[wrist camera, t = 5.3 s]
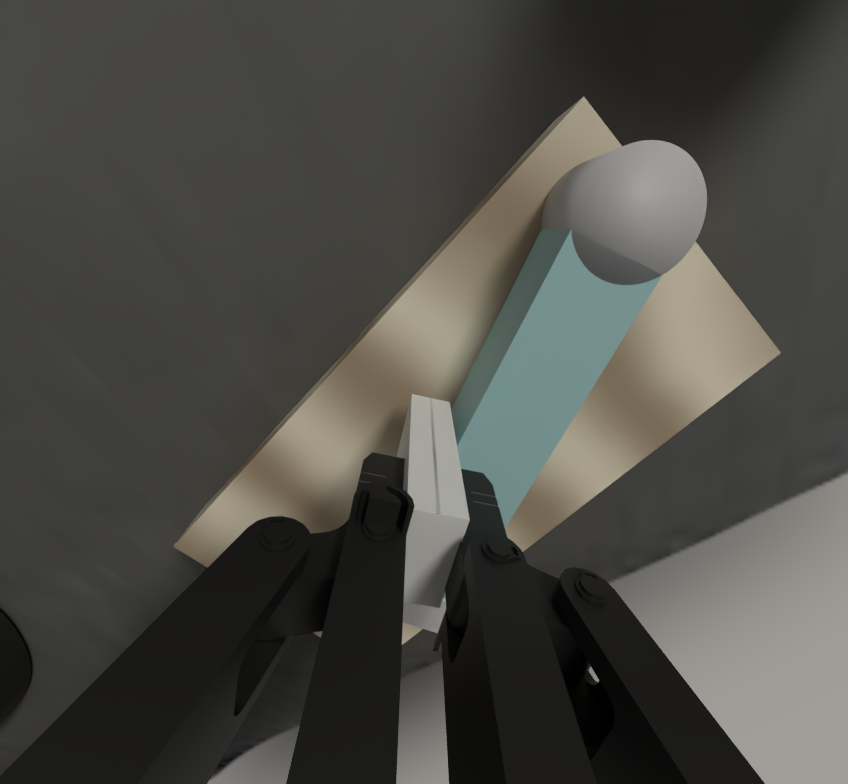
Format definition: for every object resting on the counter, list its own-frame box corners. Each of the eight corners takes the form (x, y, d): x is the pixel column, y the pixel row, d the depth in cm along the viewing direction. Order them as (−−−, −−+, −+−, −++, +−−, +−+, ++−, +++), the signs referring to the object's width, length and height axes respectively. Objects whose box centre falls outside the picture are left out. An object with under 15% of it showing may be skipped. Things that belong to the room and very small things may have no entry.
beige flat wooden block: (376, 619, 25) (370, 668, 22) (204, 506, 22) (173, 546, 19) (727, 334, 19) (780, 352, 16) (555, 119, 16) (583, 96, 13)
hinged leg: (576, 137, 13) (622, 111, 10) (671, 188, 14) (741, 177, 11) (373, 550, 19) (364, 610, 16) (444, 574, 20) (448, 636, 17)
